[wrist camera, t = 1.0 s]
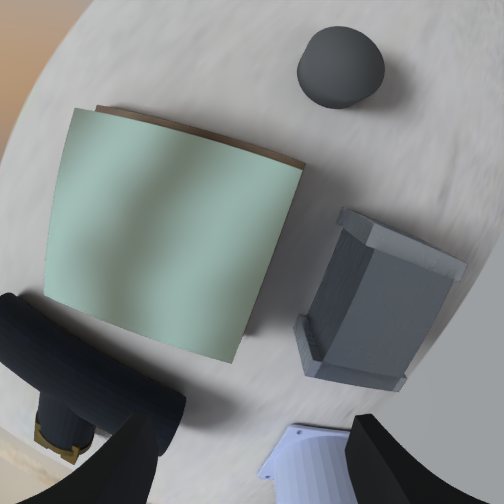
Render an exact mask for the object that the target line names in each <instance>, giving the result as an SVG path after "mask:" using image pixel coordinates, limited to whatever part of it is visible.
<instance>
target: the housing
mask: <svg viewBox="0 0 504 504" xmlns="http://www.w3.org/2000/svg"><path fill="white" fill-rule="evenodd" d="M337 224H338V225H339V226H341V227H342V228H343V230H342V232H341V235H340V238H339V240H338V243H337V245H336V248H335V250H334V253H333V255H332V258H331V260H330V263H329V265H328V268H327V270H326V272H325V275H324V277H323V280H322V282H321V284H320V287H319V289H318V291H317V294H316V296H315V298H314V301H313V303H312V305H311V308H310V310H309V312H308V314H307V316H303V315H300V314H299V316H298V318H297V321H296V323H295V325H294V327H293V329H294V333H295V337H296V341H297V345H298V349H299V354H300V358H301V362H302V366H303V370H304V375H305V376H308V377H313V378H318V379H323V380H328V381H333V382H338V383H344V384H349V385H355V386H361V387H367V388H373V389H380V390H387V391H394V392H399V391H400V390H401V388H402V387H403V385H404V383H405V382H406V380H407V377H406V375H405V374H404V372H405V371H406V369H407V367H408V366H409V364H410V362H411V361H412V359H413V357H414V356H415V354H416V352H417V351H418V349H419V347H420V345H421V344H422V342H423V340H424V338H425V336H426V335H427V333H428V331H429V329H430V327H431V325H432V323H433V321H434V319H435V318H436V316H437V314H438V312H439V310H440V308H441V306H442V304H443V302H444V299H445V297H446V295H447V293H448V291H449V289H450V287H451V284H452V282H453V280H456V281H458V282H460V281H461V278H462V276H463V274H464V272H465V269H466V267H467V264H466V263H464V262H463V261H461V260H459V259H457V258H455V257H454V256H452V255H450V254H448V253H446V252H444V251H442V250H441V249H439V248H437V247H435V246H433V245H431V244H429V243H427V242H425V241H423V240H421V239H419V238H417V237H414V236H412V235H410V234H408V233H405V232H403V231H401V230H398V229H396V228H394V227H391V226H389V225H386V224H384V223H382V222H379V221H377V220H374V219H372V218H369V217H367V216H364V215H362V214H359V213H357V212H354V211H352V210H349V209H347V208H344V207H342V209H341V212H340V215H339V217H338V220H337Z"/></svg>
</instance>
